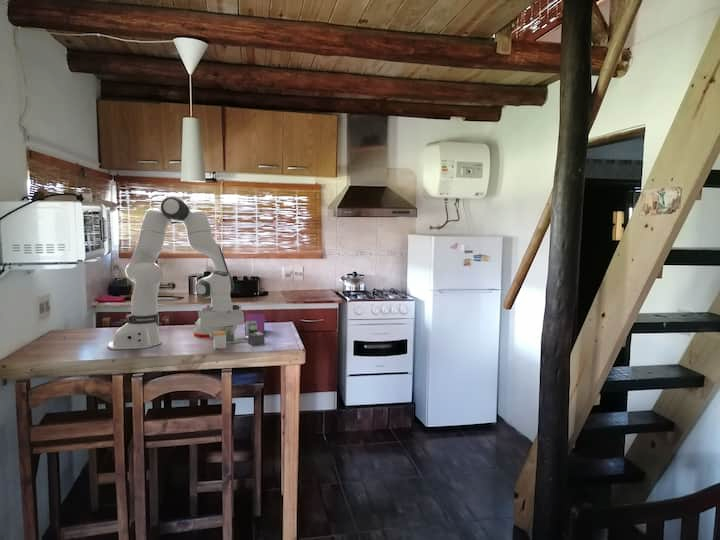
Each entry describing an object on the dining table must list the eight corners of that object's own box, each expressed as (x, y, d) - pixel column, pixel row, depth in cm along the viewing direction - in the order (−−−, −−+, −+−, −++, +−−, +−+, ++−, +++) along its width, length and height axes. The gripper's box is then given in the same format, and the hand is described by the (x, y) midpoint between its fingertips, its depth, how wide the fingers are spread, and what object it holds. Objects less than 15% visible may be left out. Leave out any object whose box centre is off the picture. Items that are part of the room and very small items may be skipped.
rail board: (220, 344, 227) (220, 325, 226) (217, 341, 233) (217, 323, 232) (262, 341, 235) (262, 322, 235) (258, 337, 242) (258, 320, 241)
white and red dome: (190, 337, 240) (190, 307, 238) (198, 331, 253) (198, 303, 252) (218, 337, 240) (218, 308, 239) (225, 331, 254) (225, 303, 253)
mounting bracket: (263, 347, 246) (264, 326, 261) (263, 334, 242) (264, 313, 257) (244, 348, 244) (246, 326, 260) (244, 335, 240) (246, 313, 255)
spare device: (252, 346, 225) (252, 335, 225) (248, 344, 230) (248, 332, 229) (264, 344, 229) (264, 333, 228) (260, 342, 233) (260, 331, 233)
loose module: (214, 348, 219) (214, 333, 218) (213, 346, 222) (213, 331, 222) (226, 347, 221) (226, 332, 220) (224, 345, 225) (224, 330, 224)
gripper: (199, 309, 214) (200, 339, 215) (244, 305, 223) (245, 334, 225) (196, 307, 219) (197, 336, 221) (241, 303, 229) (242, 332, 230)
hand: (222, 335), depth 223 cm, fingers open, 8 cm apart
